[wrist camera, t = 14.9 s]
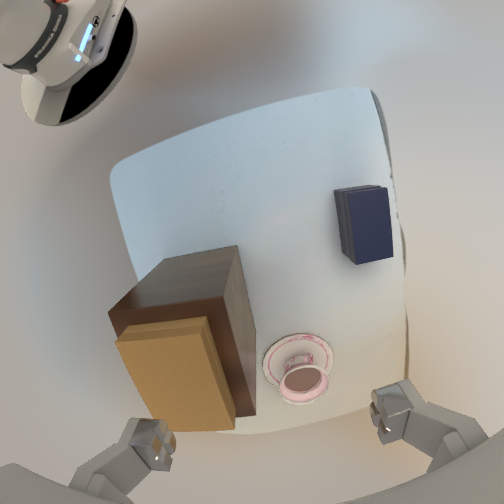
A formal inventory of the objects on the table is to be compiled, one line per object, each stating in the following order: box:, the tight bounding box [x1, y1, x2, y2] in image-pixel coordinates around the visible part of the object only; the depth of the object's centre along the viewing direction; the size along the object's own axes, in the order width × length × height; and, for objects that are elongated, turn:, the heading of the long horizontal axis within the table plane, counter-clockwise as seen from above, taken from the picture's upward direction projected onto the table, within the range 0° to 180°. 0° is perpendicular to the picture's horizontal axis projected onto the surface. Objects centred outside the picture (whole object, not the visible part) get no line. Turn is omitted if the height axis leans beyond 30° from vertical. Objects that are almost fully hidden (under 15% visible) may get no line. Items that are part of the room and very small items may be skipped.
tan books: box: [115, 316, 236, 432], centre depth 22 cm, size 11×8×3 cm
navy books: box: [334, 185, 380, 259], centre depth 36 cm, size 9×6×4 cm, turn 11°
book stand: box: [108, 245, 256, 418], centre depth 33 cm, size 14×11×18 cm
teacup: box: [263, 334, 334, 405], centre depth 41 cm, size 12×12×6 cm
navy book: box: [343, 187, 393, 265], centre depth 33 cm, size 9×6×2 cm, turn 11°
